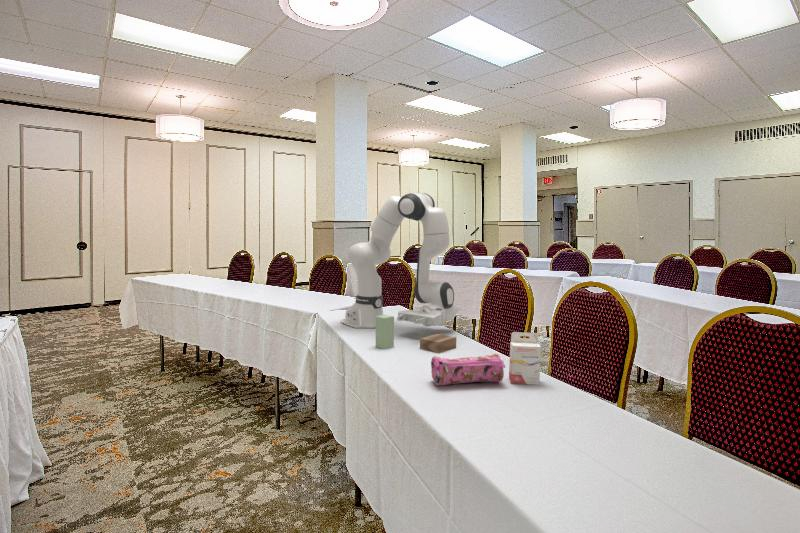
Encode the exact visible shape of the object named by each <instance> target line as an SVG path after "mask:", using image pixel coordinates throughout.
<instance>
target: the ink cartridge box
mask: <svg viewBox="0 0 800 533" xmlns="http://www.w3.org/2000/svg"><path fill="white" fill-rule="evenodd" d="M510 335H511V336H510V343H509V344H510V346H509V371H508V379H509V381H510V383H511V384H518V385H519V384H522V385H538V386H539V385H540V380H541V379H540V378H541V357H542V356H541V355H542V346H541V345H540V343H539V341H538V340H539V333H537V332H520V331H519V332H518V331H517V332H516V331H515V332H514V331H513V332H511V333H510ZM524 336H525V337H524ZM523 337H524V338H523ZM526 337H527V338H526Z"/></svg>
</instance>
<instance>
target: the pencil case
mask: <svg viewBox="0 0 800 533" xmlns="http://www.w3.org/2000/svg"><path fill="white" fill-rule="evenodd" d="M430 367H431V368H430V369H431V377H432V379H433V383H434V385H435V386H436V385H437V387H438V386H449V385H456V384H469V383H475V382H478V383H479V382H482V383H499V382H500V383H501V382H502V380H503V379H504V377H505V376H504V373H505V372H504V368H506V365H505V362H504V360H503V359H502V360H501V356H500V355H499V354H497V353H492V354H490V355H489V354H487V355H484V356H469V357H459V358H445V357H440V356H435V355H434V356H432V357H431V361H430Z"/></svg>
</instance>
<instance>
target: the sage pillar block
mask: <svg viewBox="0 0 800 533" xmlns="http://www.w3.org/2000/svg"><path fill="white" fill-rule="evenodd" d="M394 346H395V316H394V315H389V314H383V315H380V316H376V327H375V348H378V349H381V350H386V349H392V348H394Z"/></svg>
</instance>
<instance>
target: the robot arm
mask: <svg viewBox="0 0 800 533" xmlns="http://www.w3.org/2000/svg"><path fill="white" fill-rule="evenodd" d="M435 206H436V204H435V200H434V198H433V197H432V196H431V195H430V194H428V193H426V192H412V193H407V194H404V195H403V196H399V195H391V196H390V197H388V199H387V200H386V201H385V202H384V203H383V205H382V206H381V208H380V210H379V212H378V213H377V215H376V216H375V219H374V220H373V222H372V224H371V226H370V231H371V237H370V239H369V240H368V241H365V242H363V241H362V242H358V243H354V244H353V245H351V246H350V247H349V248H348V252H347V259H348V261H349V263H350V264H352V266H353V267H354V270H355V274H356V276H357V295H355V296H353V299H355V302H354V303H353V304H352V305H350V307H349V308H347V310H346V312H345V316H344V317H345V318H344V319H341V320H340V322H341V323H340V324H343V323H344V324H343V325H345V324H346V326H349V327H351V328H354V329H361V328H362V329H363V328H364V329H371V328H372V329H373V328H375V329H376V316H380V315H384V308H383V301H384V300H383V299H384V298H383V295H382V290H383V289H382V282H383V281H382V277H381V276H380V275H379V274H378V271H377V267H376V266H379V265H381V264H385V263H386V262H388V260H389V259H390V257H391V254H392V253H391V249H390V248H391V244H392V241H393V238H394V236H395V234H396V233H397V231H398V229H399V228H400V225H401V224H402V222H403V220H404V219H409V220H413V221H416V222H418V221H419V222H421V224H422V229H423V230H422V231H423V240H422V244H421V246H420V247H419V249H418V252H417V253H418V254H417V263H416V264H417V265H416V279H415V280H416V281H415V285H414V290H413V293H414V297H415V299H416V301H418V303H421V304H427V305H422V306H421V307H420V309H419V310H414V309H405V310H400V311H398V312H397V317H396V321H398V322H402V321H404V322H411V323H414V324H415V325H420V324H421V325H423V326H425V327H432V326H435V327H437V326H439V327H443V326H445V324H446V323H447V322H450V321H451V320H453V319H454V318H455V317H456V316H457V314H458V307H457V304H456V303H455V292H454V288H453V287H452V285H451V284H450V283H449V282H447V281H431V280H430V265H431V262H432V260H433V258H435V257H436V256H438V255H440V254H442V253H443V252H445V251H446V250H447V249H448V247H449V245H450V229H449V222H448V217H447V214H446V211H445V210H444V209H443V208H441V207H438V206H436V207H435Z"/></svg>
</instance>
